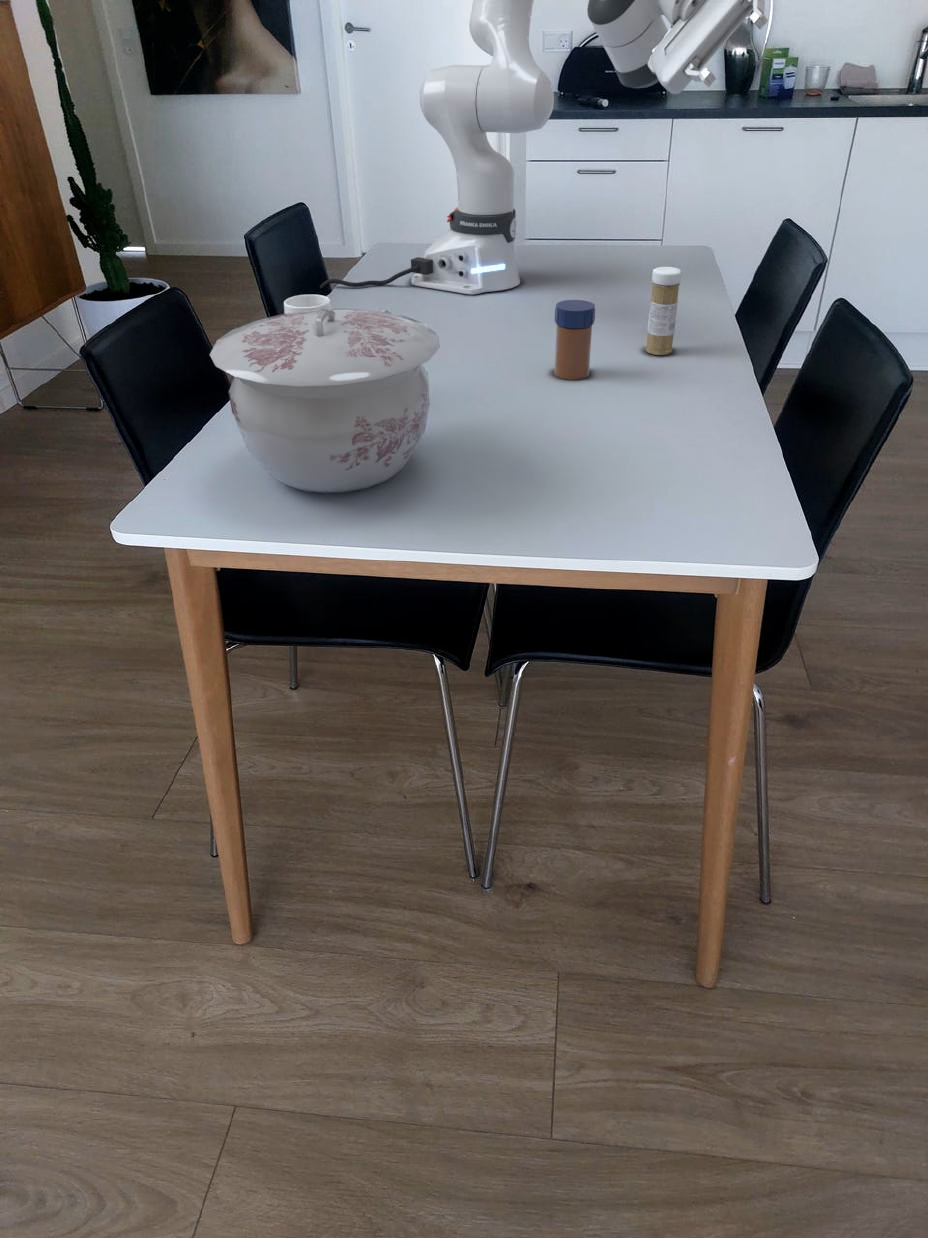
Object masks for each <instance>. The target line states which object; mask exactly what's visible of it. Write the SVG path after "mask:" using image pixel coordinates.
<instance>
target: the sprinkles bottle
mask: <svg viewBox="0 0 928 1238" xmlns="http://www.w3.org/2000/svg"><path fill="white" fill-rule="evenodd" d="M651 281H652V283H651V284H652V286H651V287H652V288H651V295H650V306H649V313H648V321H647V336H646V345H645V351H646V353H648V354H651V355H655V356H666V355H670V354H671V353H672V352H673V341H674V335H675V328H676V319H677V311H678V303H679V302H678V300H679V291H680V290H679V288H680V285H681V282H682V269H680V268H678V267H674V266H659V267H656V268H654V269H653V270H652V277H651Z"/></svg>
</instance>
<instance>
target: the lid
mask: <svg viewBox="0 0 928 1238" xmlns="http://www.w3.org/2000/svg"><path fill="white" fill-rule="evenodd" d="M554 309H555V310H554V322H555V323H554V324H556V326H557V325H559V326H561V327H565V328H586V327H590V326H592V327H593V325H594V324H595V319H596V305H595V303H593V302H591V301H588V300H583V299H566V300H561V301H559V302H557V303H556V304H555V308H554Z"/></svg>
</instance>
